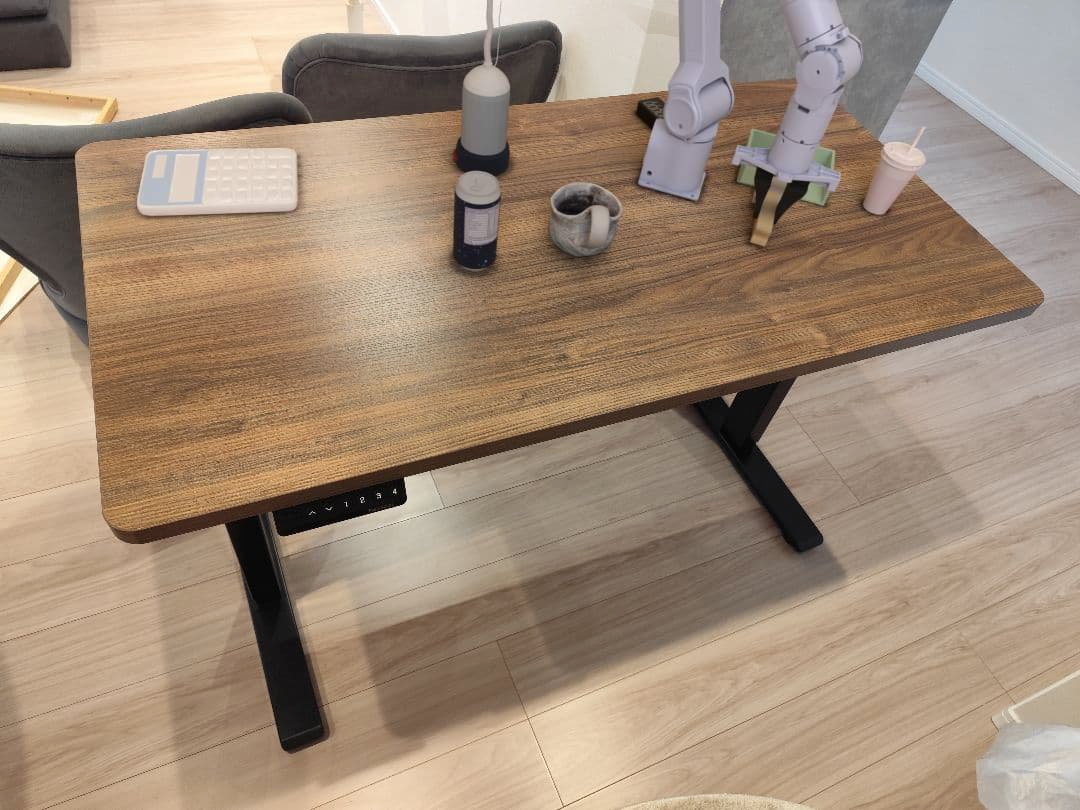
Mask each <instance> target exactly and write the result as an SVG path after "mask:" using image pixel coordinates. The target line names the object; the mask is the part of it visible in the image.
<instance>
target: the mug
mask: <svg viewBox="0 0 1080 810" xmlns="http://www.w3.org/2000/svg"><path fill="white" fill-rule="evenodd" d="M549 199H550V202H549V203H550V210H551V213H550V215H549V219H548V224H547V233H548V236H549V239H550V240H551V242H552V243H553V245H555V246H556V247H557V248H559V249H560V250H561V251H563V252H565V253H566V254H568V255H571V256H573V257H588V256H595V255H599V254H601V253H603V252H604V251H605V250H606V249H607V248H609V246H610V245H611V244H612V243H613V241H614V239H615V237H616V234H617V232H618V222H619V220H620V219H621V218H622V215H623V213H624V208H623V204H622V202H621V201H620V200H619V199H618V197H617V196H616V195H615V194H614V193H612V192H611V191H610V190H608V189H606V188H604V187H603V186H600V185H598V184H595V183H592V182H582V181H579V182H578V181H577V182H571V183H567V184H565V185H563V186H561V187H558V188H557V190H556V191H554V192H553V194H552V195H551V196H550V198H549Z"/></svg>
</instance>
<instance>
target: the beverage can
mask: <svg viewBox="0 0 1080 810" xmlns="http://www.w3.org/2000/svg"><path fill="white" fill-rule="evenodd" d="M453 196H454V198H453V199H454V200H453V229H452V230H453V234H452V235H453V236H452V257H453V259H454V260H455V262H456V263H457V264H458V265H459V266H461V267H462V268H464V269H466V270H469V271H474V272H475V271H477V272H478V271H482V270H485V269H487V268H489V267H490V266H492V265H493V264H494V263H495V261H496V259H497V250H498V249H497V248H498V238H499V237H498V236H499V226H500V216H501V215H500V214H501V201H502V190H501V188H500V183H499V181H498V179H497V177H496V176H493V175H491V174H489V173H486V172H482V171H471V172H467V173H465V172H464V173H463V174H462V175H460V176H459V178H458V180H457V183H456V185H455V187H454V195H453Z"/></svg>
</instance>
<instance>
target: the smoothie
mask: <svg viewBox="0 0 1080 810" xmlns="http://www.w3.org/2000/svg"><path fill="white" fill-rule="evenodd" d="M925 130H926V126H924V125H922V126H920V129H919V131H918V132H917V134H916V136H915V138H914V139H913V141H912V143H911V144H909V143H906V142H901V141H890V142H886V143H885V144H884V145H883V147H882V149H881V150H880V159H879V161H878V163H877V166H876V169H875V171H874V174H873V176H872V179H871V182H870V183H869V187H868V190H867V192H866V195H865V198H864V199H863V203H862V206H863V208H864V210H866V211H867V212H869V213H871V214H873V215H880V216H881V215H885V214H886V213H887V211H888V210H889V209H890V207H891V206H892V205H893V203H894V202H895V201H896V200H897V199H898V197H899V196H900V194H901V193H902V192H903V190H904V189H905V187H907V185H908V184H909V182H910V181H911V180H912V179H913V177H915V174H916V173H917V172H918V171H920V170H921V169H922V168H924V165H925V163H926V161H927V159H926V155H925V154H924V153H923V152H922V150H920V149H919V148H917V147H916V146H917V144H918V142H919V140H920V138H921V137H922V135H923V133H924V132H925Z"/></svg>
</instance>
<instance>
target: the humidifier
mask: <svg viewBox="0 0 1080 810" xmlns="http://www.w3.org/2000/svg"><path fill="white" fill-rule="evenodd" d="M493 11H494V0H486V17H485V18H486V19H485V20H486V32H485V35H484V41H483V57H484V61H483V63H482V64H481V65H478V66H476V67H473V68H472V69H470V71H469V72H468V73H467V74H466V75H465V77H464V79H463V82H462V83H463V85H462V91H461V119H460V120H461V121H460V122H461V123H460V136H459V137H458V138H457V141H456V146H455V148H454V151H453V155H452V156H453V160H454V162H455V164H456V166H457V167H458V168H459V170H461V171H462V172H464V173H467V172H471V171H482V172H486V173H489V174H491V175H493V176H494V177H498V176H501V175H503V173H505V172H506V171H507V170H508V169H509V165H510V156H511V149H510V144H509V141H508V140H507V137H508V126H509V125H508V124H509V113H510V101H511V100H510V99H511V84H510V82H509V79H508V77H507V75H506V74H505V73H504V72H503V71H502V70H500V69H499V68H498V67H496V66H497V63H498V58H499V49H497V51H496V61H495V64H494V65H493V62H492V54H491V53H492V52H491V46H492V45H491V43H492V39H493V35H494V31H495V30H494V29H495V28H494V27H495V25H494V18H493V16H494V15H493V13H494V12H493ZM501 11H502V2H500V5H499V15H498V26H499V35H498V39H497V40H498V41H497V48H499V45H500V39H501V38H500V37H501V33H502V28H501V23H500V19H501V13H502V12H501Z"/></svg>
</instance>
